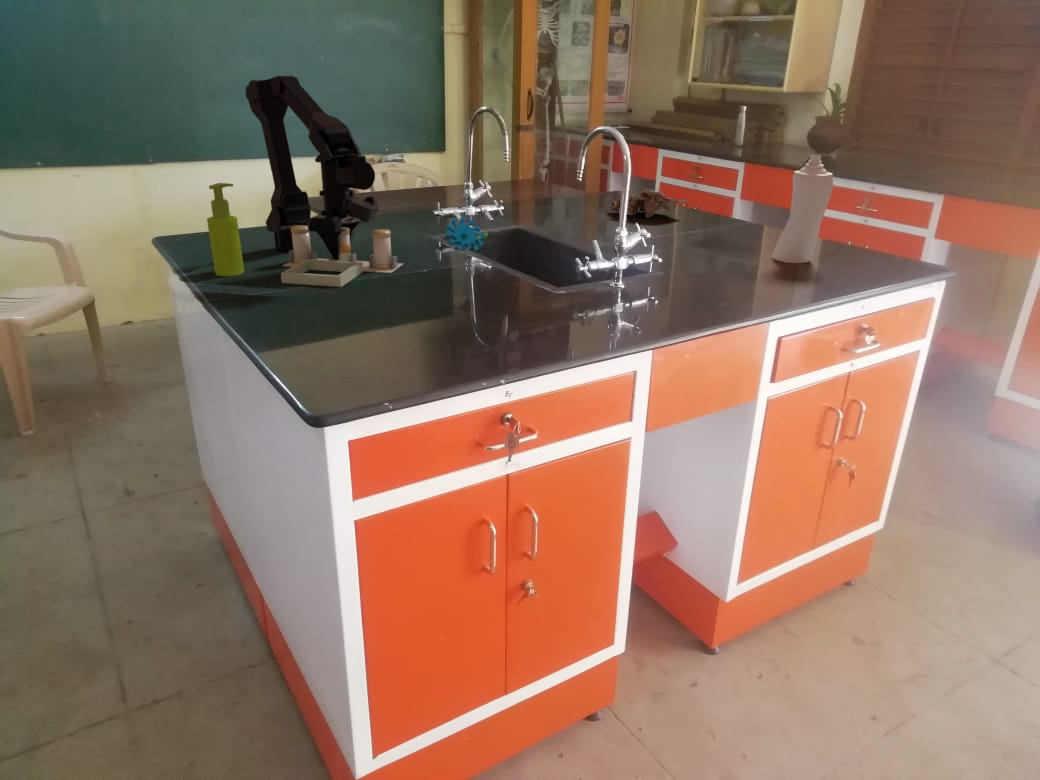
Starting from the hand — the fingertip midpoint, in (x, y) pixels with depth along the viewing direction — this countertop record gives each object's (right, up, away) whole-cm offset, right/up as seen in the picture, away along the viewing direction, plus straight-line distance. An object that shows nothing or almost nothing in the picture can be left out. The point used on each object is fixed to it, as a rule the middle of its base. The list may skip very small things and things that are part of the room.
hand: (341, 257), depth 171 cm
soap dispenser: (-23, -6, -4) cm, 24 cm away
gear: (+26, +5, +22) cm, 35 cm away
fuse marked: (0, -1, +1) cm, 2 cm away
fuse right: (+9, -2, 0) cm, 10 cm away
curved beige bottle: (+107, +2, +15) cm, 108 cm away
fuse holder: (0, -3, +2) cm, 3 cm away
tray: (-2, -7, -8) cm, 10 cm away
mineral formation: (+79, +23, +64) cm, 104 cm away
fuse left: (-9, -1, +3) cm, 10 cm away
